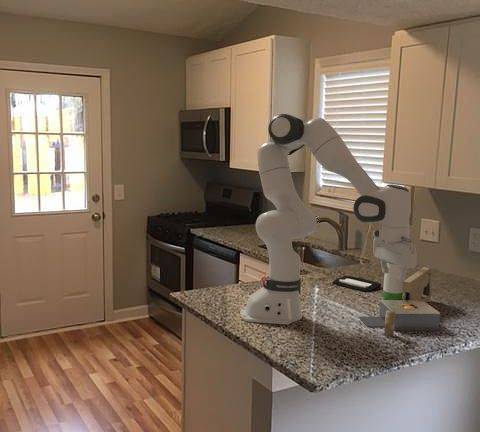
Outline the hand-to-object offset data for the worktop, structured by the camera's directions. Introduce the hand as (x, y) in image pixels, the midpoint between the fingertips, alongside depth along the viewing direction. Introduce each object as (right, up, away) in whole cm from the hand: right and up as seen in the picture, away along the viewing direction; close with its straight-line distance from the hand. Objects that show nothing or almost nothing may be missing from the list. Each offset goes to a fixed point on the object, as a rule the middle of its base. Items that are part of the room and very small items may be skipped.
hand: (393, 276), depth 172 cm
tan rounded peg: (-1, -20, +2) cm, 20 cm away
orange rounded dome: (+9, -14, +13) cm, 22 cm away
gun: (+19, -16, +33) cm, 41 cm away
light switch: (+2, -12, +61) cm, 63 cm away
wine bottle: (+12, -15, +42) cm, 46 cm away
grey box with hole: (+9, -18, +13) cm, 25 cm away
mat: (-3, -18, +14) cm, 23 cm away
